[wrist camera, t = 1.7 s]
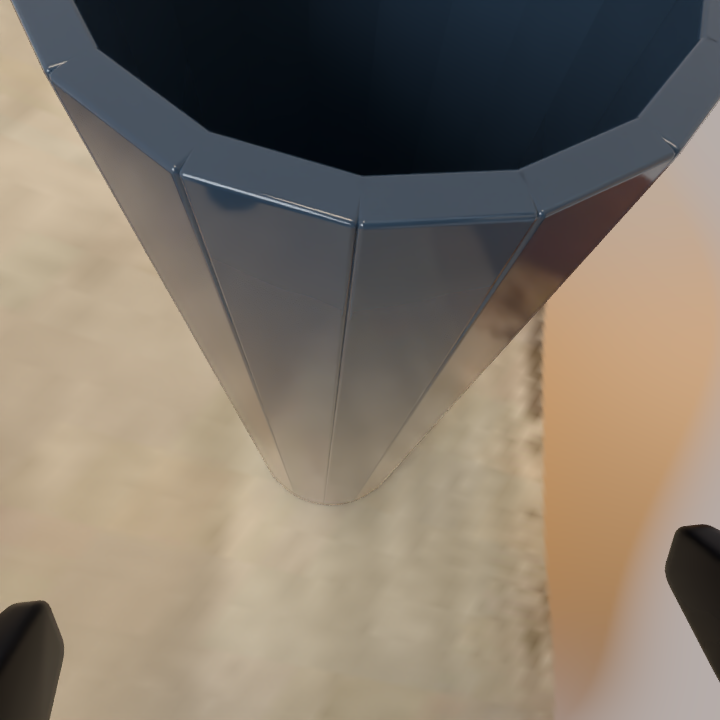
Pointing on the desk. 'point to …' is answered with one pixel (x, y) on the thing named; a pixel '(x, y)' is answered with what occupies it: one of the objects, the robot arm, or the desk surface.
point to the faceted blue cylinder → (371, 185)
